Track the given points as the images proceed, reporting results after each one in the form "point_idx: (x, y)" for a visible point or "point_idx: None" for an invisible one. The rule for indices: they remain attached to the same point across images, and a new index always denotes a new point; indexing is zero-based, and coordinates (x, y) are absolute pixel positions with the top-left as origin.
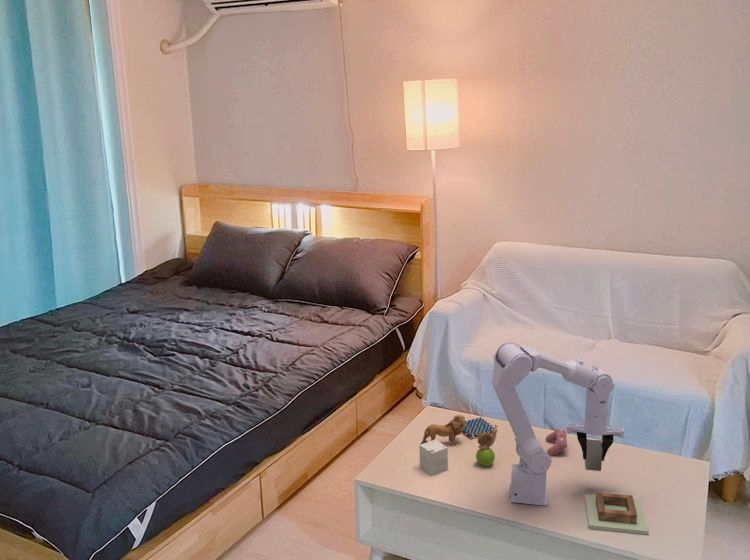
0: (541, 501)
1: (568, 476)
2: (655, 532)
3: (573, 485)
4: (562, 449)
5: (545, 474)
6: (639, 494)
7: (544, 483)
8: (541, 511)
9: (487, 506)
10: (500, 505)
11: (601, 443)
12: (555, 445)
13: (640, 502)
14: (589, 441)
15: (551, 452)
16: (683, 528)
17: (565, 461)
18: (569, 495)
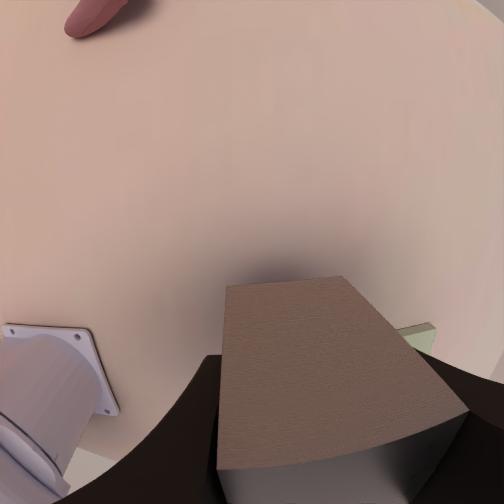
0: (99, 404)
1: (156, 189)
2: None
3: (185, 268)
4: (121, 4)
5: (66, 463)
6: (441, 267)
7: (79, 439)
8: (116, 429)
9: None
10: None
11: (433, 466)
12: (82, 5)
13: (430, 345)
14: (280, 496)
15: (80, 32)
16: None
17: (144, 53)
18: (177, 347)
